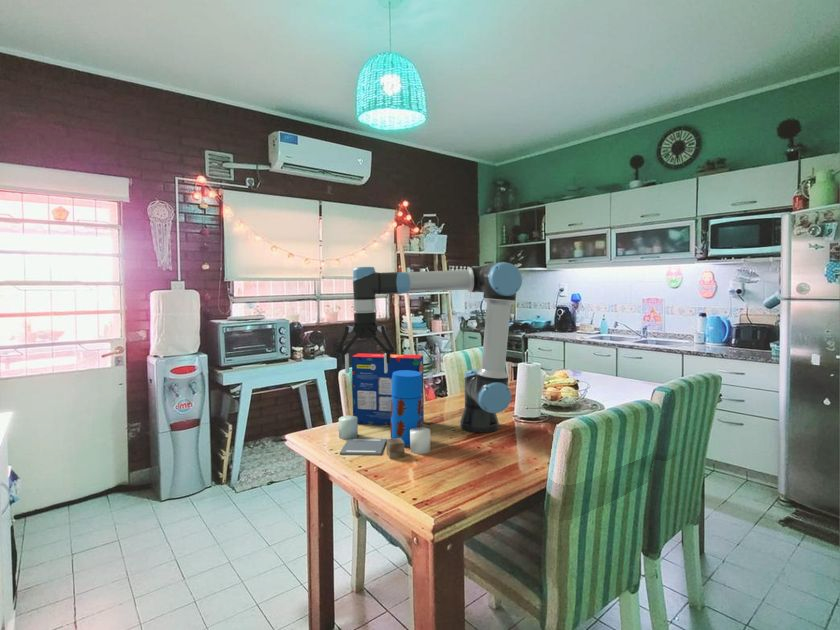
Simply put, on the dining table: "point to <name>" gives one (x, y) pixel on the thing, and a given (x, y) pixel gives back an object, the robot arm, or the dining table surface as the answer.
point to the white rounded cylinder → (420, 440)
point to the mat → (363, 446)
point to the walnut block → (395, 448)
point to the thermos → (405, 403)
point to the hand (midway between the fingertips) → (366, 372)
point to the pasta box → (379, 385)
